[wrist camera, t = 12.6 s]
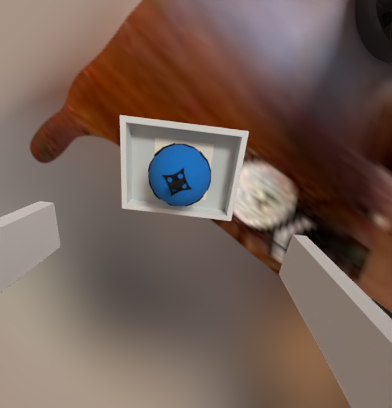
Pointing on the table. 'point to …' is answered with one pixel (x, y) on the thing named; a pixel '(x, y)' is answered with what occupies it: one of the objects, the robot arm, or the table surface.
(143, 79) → the table surface
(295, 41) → the table surface
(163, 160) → the ornament
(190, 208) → the bin
